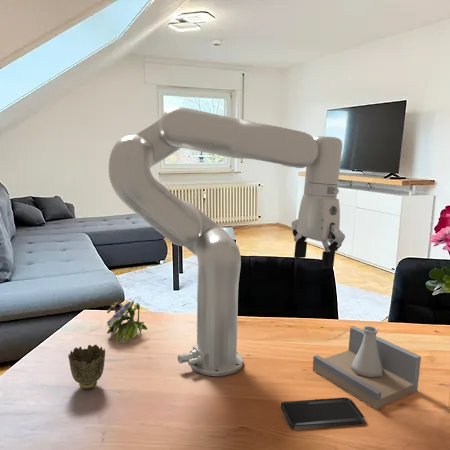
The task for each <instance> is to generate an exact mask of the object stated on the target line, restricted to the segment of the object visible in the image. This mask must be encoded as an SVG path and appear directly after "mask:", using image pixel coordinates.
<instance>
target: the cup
mask: <svg viewBox="0 0 450 450" xmlns="http://www.w3.org/2000/svg"><path fill="white" fill-rule="evenodd" d="M105 359H106V349H105V348H103V347H102V346H100V347H99V346H98V345H97V344H94V345H91V344H88V346H87V348H82V346H79V347H76V346H75V347H74V348H73V351H72V350H70V353H68V362H69V366H70V368H69V369H70V372H71V373H70V374H71V376H72V378H73V380H74V381H75V382H76V383H78V386H79V388H80V389H81V390H83V391H90V390H93V389H94V388H96V387H97V385H98V380H100V378H101V377H102V375H103V374H104V369H105Z"/></svg>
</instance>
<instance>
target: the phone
mask: <svg viewBox="0 0 450 450" xmlns="http://www.w3.org/2000/svg"><path fill="white" fill-rule="evenodd" d="M280 410H281V412H282V415H283V417H284V419H285V422H286V424H287V425H288V427H289V428H290V429H291V430H309V429H321V428H322V429H323V428H336V427H347V426H350V427H351V426H362V425H364V424H365V422H366V418H365V416H364V414H363V413H362V412H361V410H360V409H359V407H358V406H357V405H356V403H355V402H354V401H353V400H352V399H351V398H349V397H334V398H318V399H304V400H303V399H302V400H288V401H282V402H281V403H280Z"/></svg>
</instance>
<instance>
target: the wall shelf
mask: <svg viewBox="0 0 450 450" xmlns="http://www.w3.org/2000/svg"><path fill="white" fill-rule="evenodd" d="M349 328H350V330H349V339H348V350H346V351H342V352H340V353H337V354H333V355H330V356H328V357H321V356H320V355H319V354H316V355H313V357H312V358H313V359H312V360H313V361H312V371H313V372H315V373H317V374H318V375H320V376H321V377H322V378H325V379H326V380H327V381H330V382H331V383H333V384H334V385H336V386H337V387H338V388H341V389H342V390H344V391H345V392H347V393H349V394H350V395H352V396H353V397H355V398H357V399H358V400H360V401H361V402H363V403H365V404H366V405H367V406H369V407H371V409H374V410H379V409H381V408H383V407H385V406H388V405H390V404H392V403H394V402H396V401H398V400H401V399H403V398H405V397H407V396H410V395H411V394H413V393H416V392H418V388H419V380H420V379H419V378H420V368H421V360H422V356H421V355H419V354H418V353H417V354H416V353H414V352H413V351H410V350H408V349H405V348H403V347H401V346H399V345H397V344H394V343H392V342H390V341H388V340H387V339H384V338H381V337H380V336H377V335H376V343H377V349H378V352H379V356H380V359H381V363H382V366H383V370H384V371H383V375H382V376H380V377H367V376H363V375H359V374H356V373H355V372H354V371H353V370H352V368H351V366H352V363H353V361H354V359H355V357H356V355H357V353H358V351H359V349H360V347H361V344H362V341H363V338H364V331H363V328H362V329H361V328H359V327H357V326H355V325H354V326H351V327H349Z"/></svg>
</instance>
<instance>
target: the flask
mask: <svg viewBox="0 0 450 450" xmlns="http://www.w3.org/2000/svg"><path fill="white" fill-rule="evenodd" d="M362 330H363V331H364V338H363V341H362V344H361V347H360V349H359V351H358V353H357V355H356V357H355V359H354V361H353V363H352V366H351V368H352V370H353V371H354V372H355V373H356V374H359V375H363V376H367V377H380V376H382V375H383V371H384V370H383V366H382V363H381V359H380V356H379V352H378V349H377V343H376V336H377V334H378V330H379V329H378V328H377V327H376V326H372V325H364V326H363V328H362Z"/></svg>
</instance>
